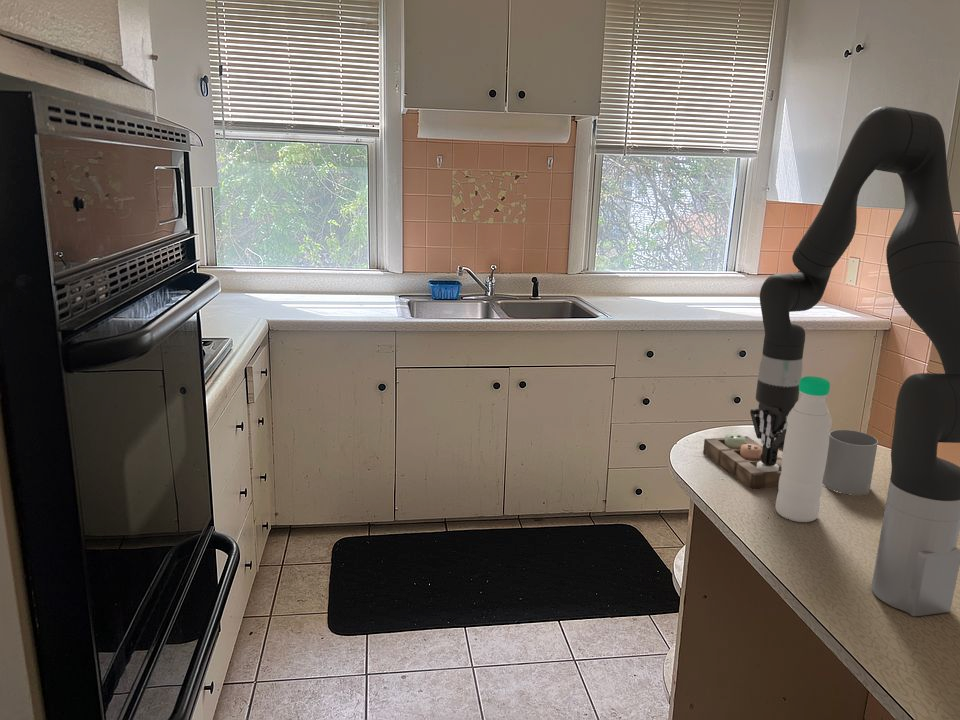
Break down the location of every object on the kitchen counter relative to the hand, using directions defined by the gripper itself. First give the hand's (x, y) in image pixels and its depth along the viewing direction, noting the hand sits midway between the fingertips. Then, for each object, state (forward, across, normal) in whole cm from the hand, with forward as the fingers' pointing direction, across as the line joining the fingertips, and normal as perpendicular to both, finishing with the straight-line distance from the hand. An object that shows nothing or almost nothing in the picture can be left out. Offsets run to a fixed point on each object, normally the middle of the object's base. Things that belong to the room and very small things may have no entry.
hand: (768, 464), depth 145 cm
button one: (+3, 0, 0) cm, 3 cm away
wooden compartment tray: (+3, +6, 0) cm, 7 cm away
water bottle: (+4, -14, +3) cm, 15 cm away
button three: (+2, +6, 0) cm, 6 cm away
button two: (+2, +12, 0) cm, 12 cm away
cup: (+4, -5, -14) cm, 15 cm away
